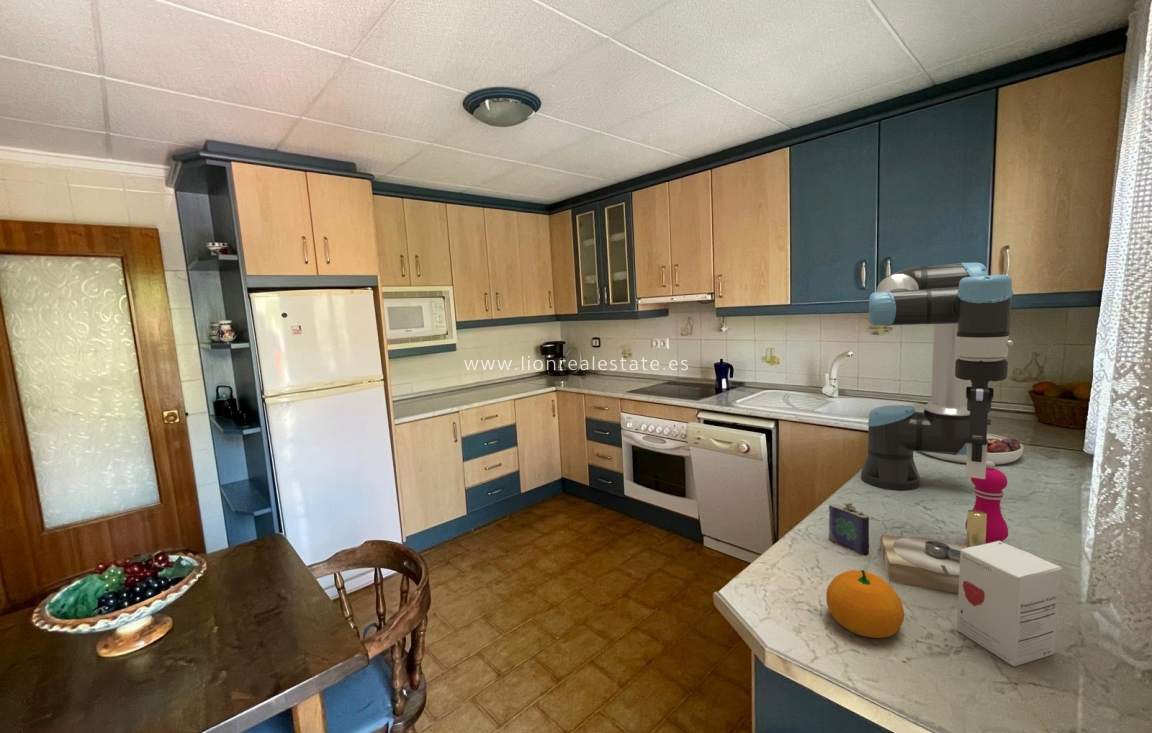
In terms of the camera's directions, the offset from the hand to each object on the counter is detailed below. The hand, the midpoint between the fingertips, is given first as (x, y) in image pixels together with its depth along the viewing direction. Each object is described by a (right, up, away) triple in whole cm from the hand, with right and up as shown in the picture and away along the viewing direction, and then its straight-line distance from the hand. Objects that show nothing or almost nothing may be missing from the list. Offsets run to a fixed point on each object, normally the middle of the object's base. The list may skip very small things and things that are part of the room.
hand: (976, 466), depth 91 cm
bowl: (+59, -12, +74) cm, 95 cm away
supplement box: (-8, -26, -14) cm, 31 cm away
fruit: (-27, -27, -8) cm, 39 cm away
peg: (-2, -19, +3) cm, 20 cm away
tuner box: (-4, -23, +5) cm, 24 cm away
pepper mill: (+14, -21, +14) cm, 29 cm away
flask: (-15, -23, +18) cm, 32 cm away
